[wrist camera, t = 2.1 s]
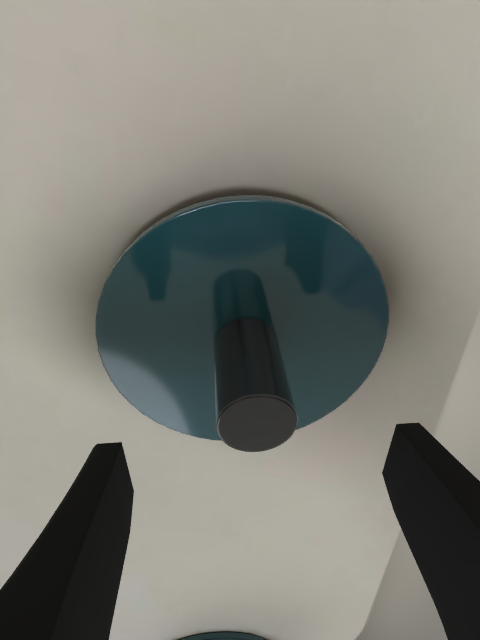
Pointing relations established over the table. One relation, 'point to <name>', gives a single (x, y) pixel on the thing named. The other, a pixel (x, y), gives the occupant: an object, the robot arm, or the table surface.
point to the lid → (242, 319)
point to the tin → (223, 636)
